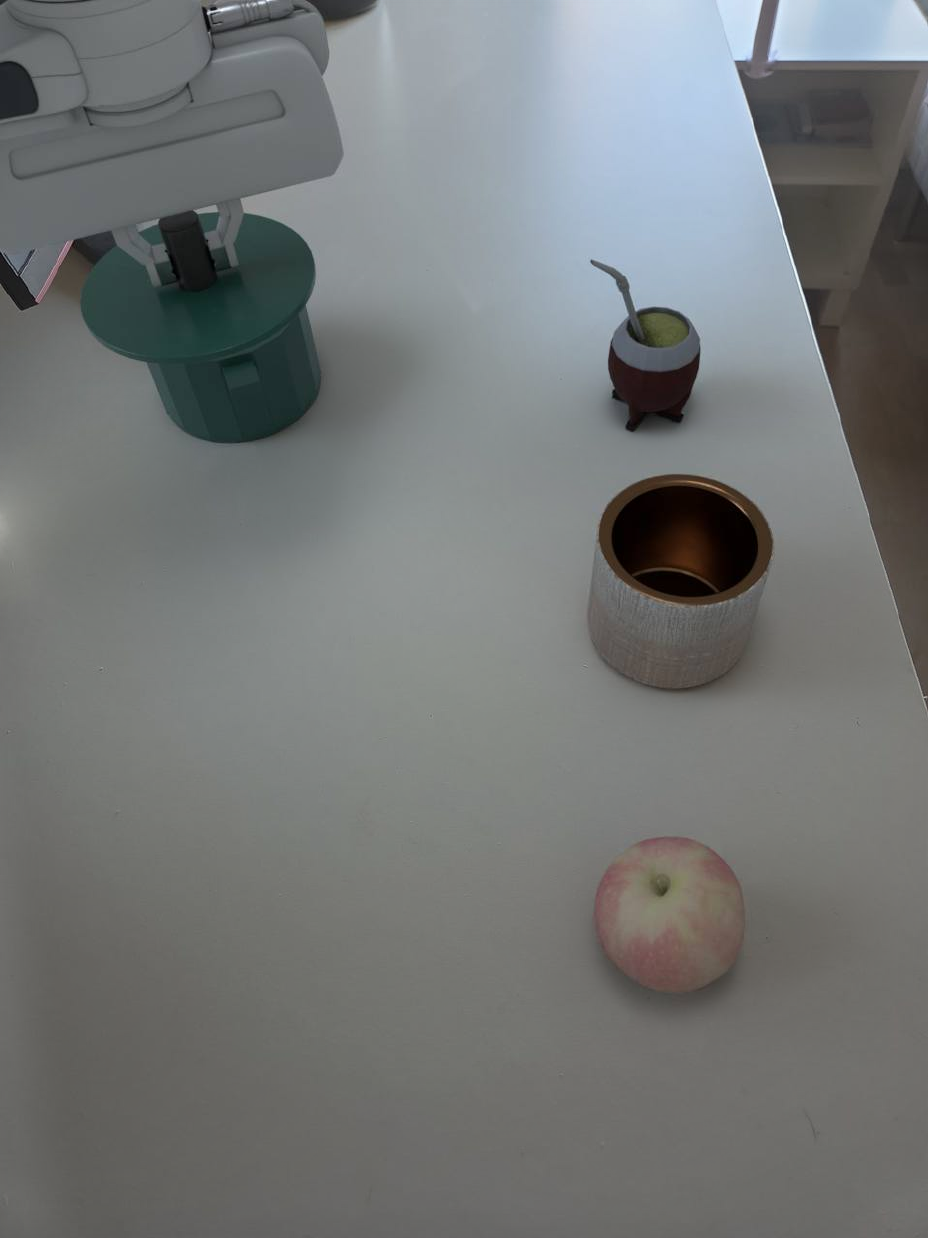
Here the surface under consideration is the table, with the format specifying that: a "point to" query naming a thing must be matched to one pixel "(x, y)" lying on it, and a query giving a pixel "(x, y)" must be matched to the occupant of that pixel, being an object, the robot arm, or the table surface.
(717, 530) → the planter
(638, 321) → the mate gourd
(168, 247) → the lid
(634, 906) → the apple
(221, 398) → the pot
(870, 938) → the table surface
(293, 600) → the table surface
